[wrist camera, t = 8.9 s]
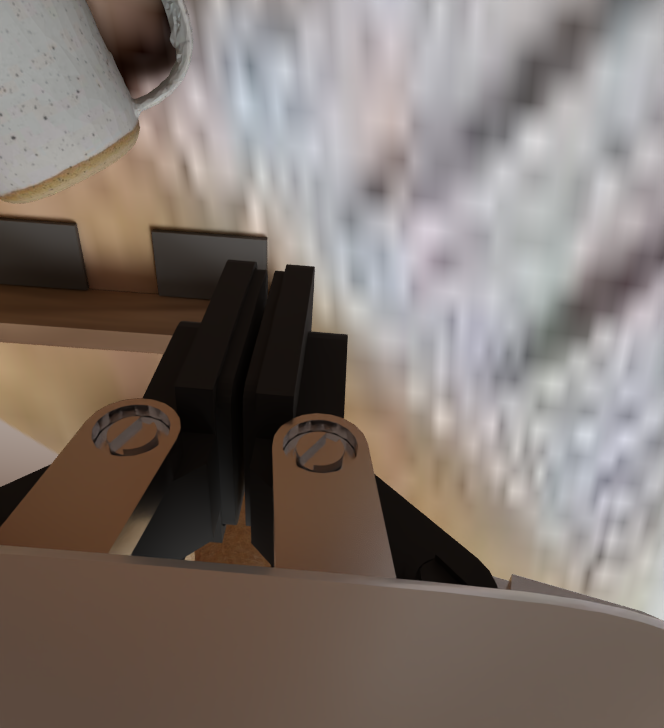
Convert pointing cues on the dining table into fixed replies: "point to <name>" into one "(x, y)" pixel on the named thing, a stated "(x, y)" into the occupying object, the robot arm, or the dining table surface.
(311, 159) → the dining table surface
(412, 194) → the dining table surface
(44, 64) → the ceramic mug
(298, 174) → the dining table surface
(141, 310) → the trap box
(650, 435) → the dining table surface
